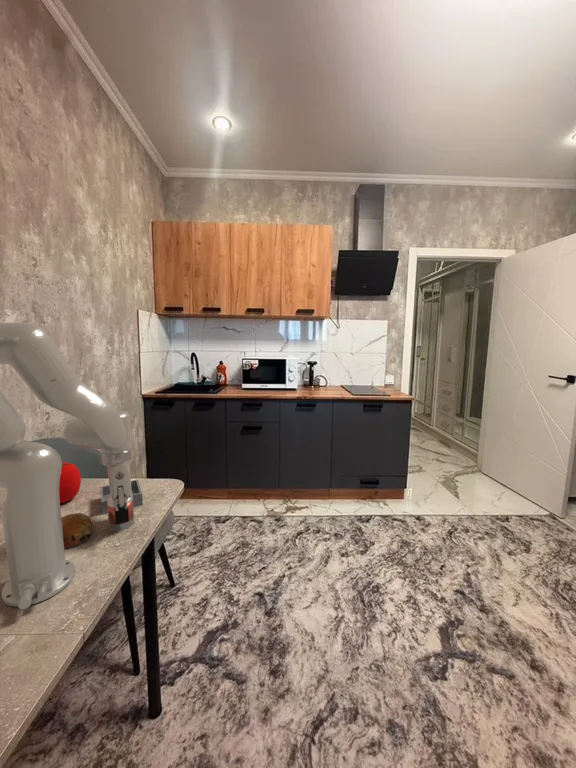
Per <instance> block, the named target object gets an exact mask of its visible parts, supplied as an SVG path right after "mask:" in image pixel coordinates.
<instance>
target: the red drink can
mask: <svg viewBox="0 0 576 768" xmlns="http://www.w3.org/2000/svg"><path fill="white" fill-rule="evenodd" d="M124 497H125V496H124ZM116 498H117V499H119V497H116ZM126 498H127V496H126ZM117 502H118V504H119V501H117ZM127 507H128V514H129V521H128V522H124V523H120V524H116V520H115V510H116V505H115V501H113V500H112V496H111V493H110V494H109V495H108V496H107V509H108V513H107V519H108V529H109V530H110V531H112V532H122V531H124V530H128V529H130V528H131V527H132V526H134V523H135V509H134V508H135V507H134V506H133V493H132V497H131V498H130V497H129V498H127Z"/></svg>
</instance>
